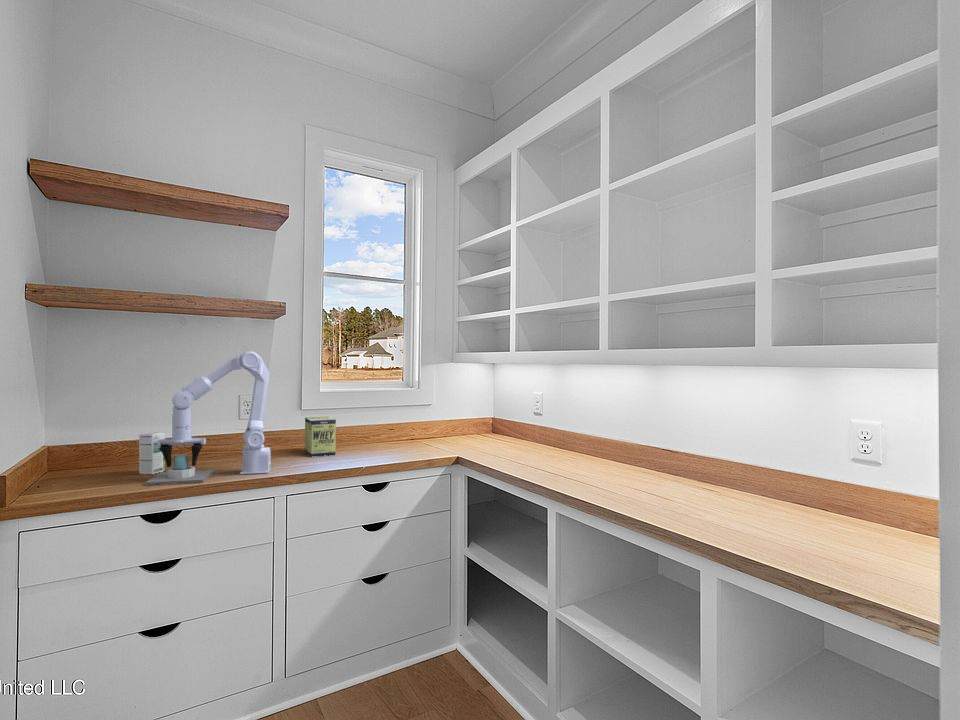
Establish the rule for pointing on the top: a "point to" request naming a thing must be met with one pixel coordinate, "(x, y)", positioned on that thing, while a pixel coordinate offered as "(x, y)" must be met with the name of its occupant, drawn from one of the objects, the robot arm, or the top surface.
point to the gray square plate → (180, 476)
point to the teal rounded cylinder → (181, 462)
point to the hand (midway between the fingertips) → (181, 466)
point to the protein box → (320, 436)
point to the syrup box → (151, 453)
